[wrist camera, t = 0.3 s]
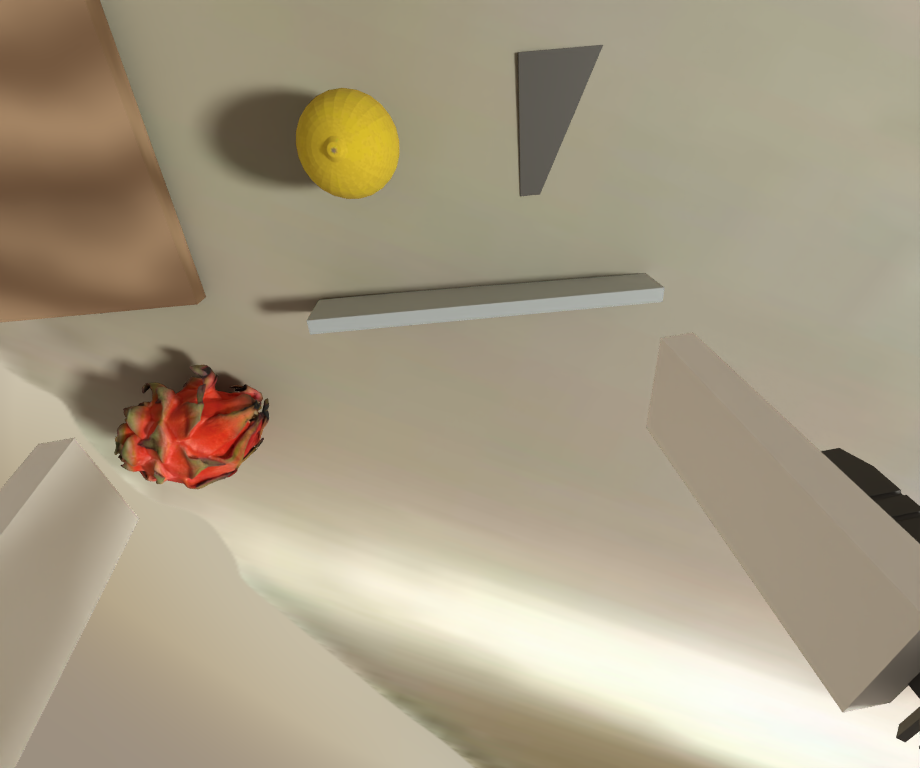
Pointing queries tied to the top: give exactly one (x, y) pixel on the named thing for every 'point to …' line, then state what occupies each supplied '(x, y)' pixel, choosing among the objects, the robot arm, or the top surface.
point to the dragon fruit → (192, 431)
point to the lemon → (347, 143)
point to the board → (79, 175)
